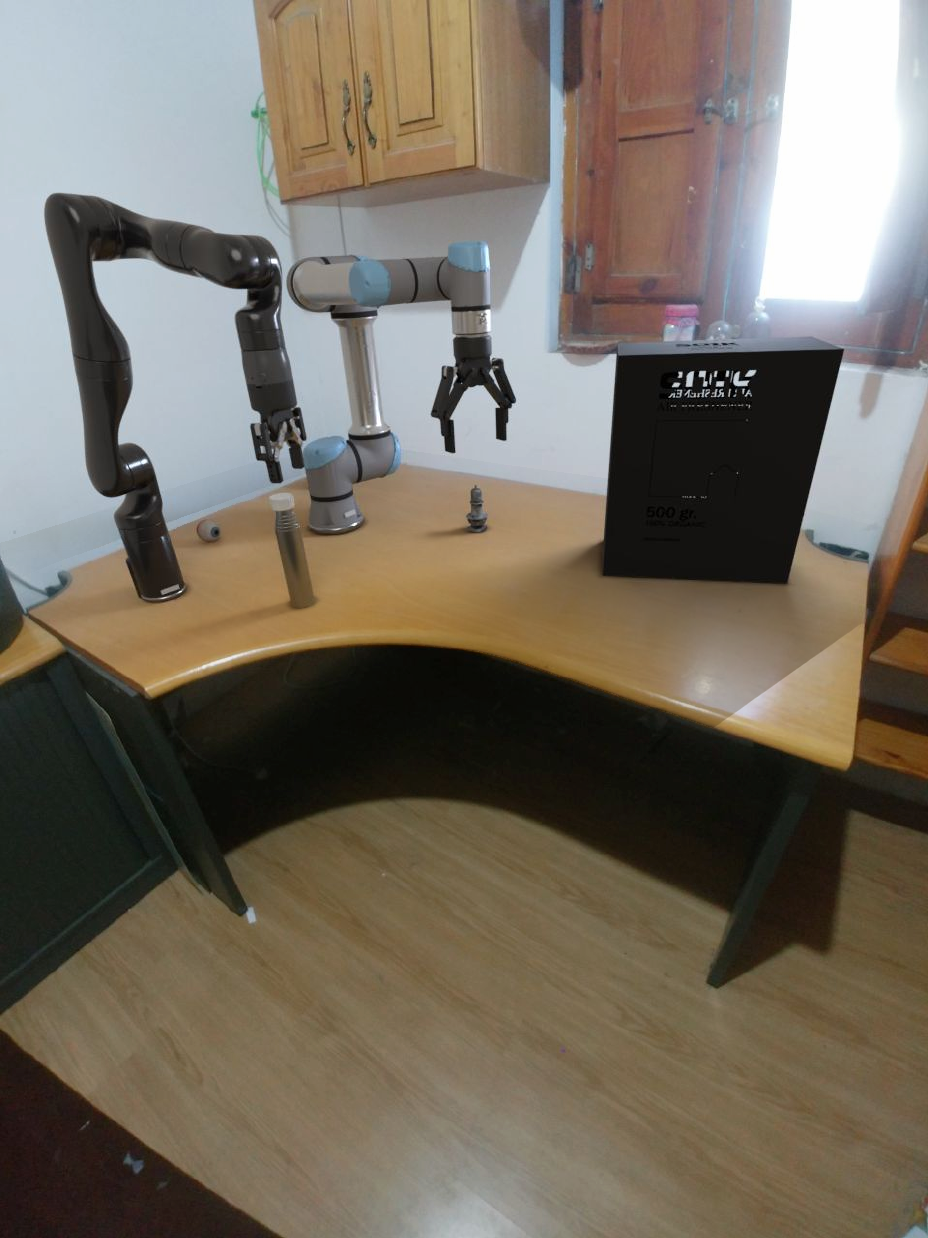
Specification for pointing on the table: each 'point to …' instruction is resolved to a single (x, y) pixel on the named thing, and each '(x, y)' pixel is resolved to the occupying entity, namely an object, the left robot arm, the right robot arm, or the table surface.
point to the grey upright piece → (476, 512)
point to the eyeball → (208, 530)
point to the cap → (281, 501)
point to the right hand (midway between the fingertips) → (476, 445)
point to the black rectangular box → (714, 456)
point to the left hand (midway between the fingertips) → (288, 475)
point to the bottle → (293, 559)
